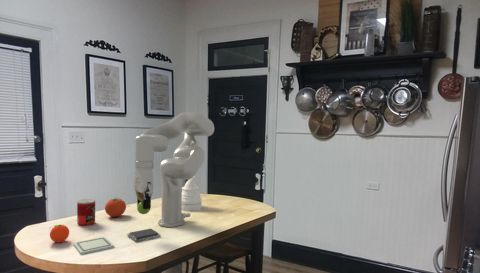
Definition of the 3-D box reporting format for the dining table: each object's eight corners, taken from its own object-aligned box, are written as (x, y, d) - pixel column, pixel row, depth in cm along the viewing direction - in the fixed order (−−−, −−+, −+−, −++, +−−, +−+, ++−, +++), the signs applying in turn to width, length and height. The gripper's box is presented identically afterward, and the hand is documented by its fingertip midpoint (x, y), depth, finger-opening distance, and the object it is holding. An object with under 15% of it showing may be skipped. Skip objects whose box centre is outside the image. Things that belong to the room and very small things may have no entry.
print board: (104, 238, 136) (104, 236, 136) (114, 247, 126) (114, 244, 126) (73, 244, 128) (73, 242, 128) (80, 254, 119) (80, 252, 119)
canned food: (88, 226, 151) (88, 203, 150) (73, 225, 152) (73, 202, 152) (98, 221, 158) (98, 199, 158) (84, 220, 160) (84, 198, 159)
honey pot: (190, 204, 196) (190, 174, 196) (206, 207, 189) (206, 176, 188) (174, 208, 186) (174, 177, 185) (190, 212, 178) (190, 179, 178)
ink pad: (151, 231, 146) (151, 227, 146) (160, 236, 139) (160, 233, 139) (127, 236, 139) (127, 232, 139) (135, 242, 132) (135, 238, 132)
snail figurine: (136, 212, 141) (136, 184, 141) (151, 212, 141) (151, 184, 141) (133, 215, 136) (133, 187, 135) (149, 215, 136) (149, 187, 136)
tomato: (100, 218, 164) (100, 198, 164) (112, 213, 174) (113, 194, 174) (118, 220, 162) (118, 200, 161) (130, 214, 172) (130, 195, 171)
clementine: (43, 245, 128) (43, 227, 127) (53, 238, 135) (53, 221, 134) (63, 245, 128) (63, 227, 127) (72, 239, 135) (72, 222, 134)
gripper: (128, 163, 142) (127, 204, 143) (143, 167, 129) (143, 213, 129) (144, 162, 147) (144, 202, 147) (161, 166, 134) (160, 210, 134)
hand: (143, 206), depth 138 cm, fingers closed on snail figurine, 5 cm apart
